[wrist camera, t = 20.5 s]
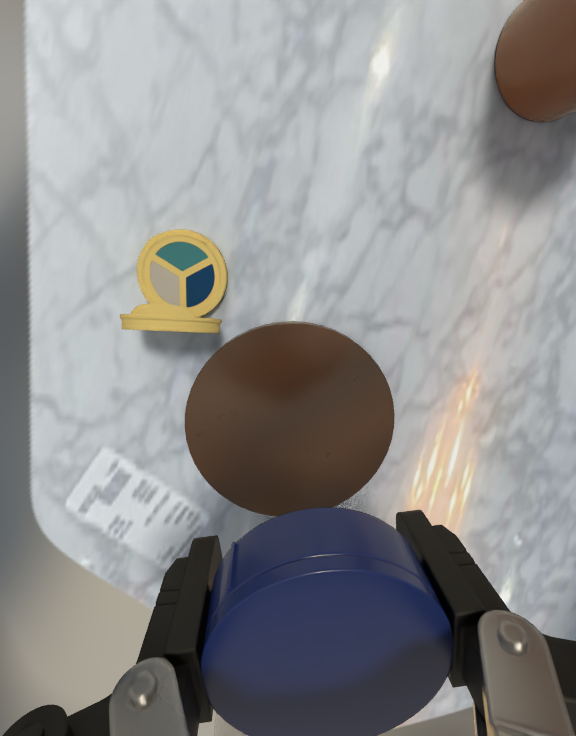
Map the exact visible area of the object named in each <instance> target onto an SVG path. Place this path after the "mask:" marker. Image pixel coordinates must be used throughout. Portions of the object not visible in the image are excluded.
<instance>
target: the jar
mask: <svg viewBox="0 0 576 736" xmlns="http://www.w3.org/2000/svg"><path fill="white" fill-rule="evenodd" d="M495 73H496V80H497V84H498V88H499V90H500V93H501V95H502V97H503V99H504V100H505V102H506V103H507V105H508V106H509V107H510V108H511V109H512V110H513V111H514V112H515V113H517V114H518V115H519V116H521V117H523V118H525V119H528V120H532V121H539V122H545V121H552V120H556V119H559V118H562V117H564V116H566V115H568V114H570V113H572V112H574V111H576V0H523V1H522V2H521V3H520V4H519V5H518V6H517V8H516V9H515V10H514V11H513V13H512V14H511V15H510V17H509V19H508V20H507V22H506V24H505V26H504V28H503V30H502V33H501V35H500V39H499V42H498V45H497V51H496V58H495Z"/></svg>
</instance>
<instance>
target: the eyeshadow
mask: <svg viewBox="0 0 576 736" xmlns="http://www.w3.org/2000/svg"><path fill="white" fill-rule="evenodd" d="M137 277H138V282H139V286H140V288H141V291H142V293H143V295H144V296H145V298H146V299H147V301H148V302H149V303H148V304H142V305H139V306H137V307H136V308H135V309H134V310H133V311H132V312H131V314H120V318H121V319H122V329H130V330H152V331H176V332H201V333H220V324H221V323H222V320H220V319H212V318H199V317H200V316H203V315H205V314H207V313H208V312H210V311H211V310H212V309H213V308H215V307H216V306H217V304H218V303H219V302H220V301H221V299H222V297H223V295H224V293H225V291H226V287H227V281H228V273H227V267H226V263H225V260H224V258H223V256H222V254H221V252H220V251H219V249H218V248H217V247H216V245H215V244H214V243H213V242H212V241H211V240H209V239H208V238H206V237H205V236H203V235H201V234H199V233H196V232H193V231H189V230H172V231H167V232H164V233H161V234H158V235H156V236H154V237H152V238H151V239H150V240H149V241H148V242H147V243H146V245H145V246H144V248H143V249H142V251H141V253H140V256H139V259H138V264H137Z"/></svg>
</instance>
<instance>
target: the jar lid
mask: <svg viewBox="0 0 576 736" xmlns="http://www.w3.org/2000/svg"><path fill="white" fill-rule="evenodd" d="M452 655H453V631H452V628H451V625H450V622H449V619H448V617H447V615H446V613H445V611H444V609H443V607H442V605H441V604H440V601H439V599H438V597H437V595H436V593H435V591H434V589H433V587H432V585H431V583H430V581H429V579H428V577H427V575H426V573H425V571H424V569H423V567H422V565H421V563H420V561H419V559H418V557H417V555H416V553H415V552H414V550H413V548H412V546H411V545H410V544H409V542H408V541H407V540H406V539H405V538H404V536H402V535H401V534H400V533H399V532H398V531H397V530H396V529H394V528H393V527H392V526H390V525H389V524H387V523H385V522H384V521H382V520H380V519H378V518H376V517H374V516H371V515H369V514H366V513H362V512H359V511H355V510H350V509H345V508H335V507H334V508H332V507H323V508H310V509H303V510H297V511H293V512H289V513H286V514H283V515H280V516H278V517H275V518H272V519H270V520H268V521H266V522H264V523H262V524H260V525H258V526H257V527H255V528H253V529H252V530H251V531H249V532H248V533H246V534H245V535H244V536H243V537H242V538H241V539H240V540H238V541H237V542H236V543H235V542H234V543H232V546H231V549H230V550H229V551H228V552H227V554H226V555H225V557H224V558H223V560H222V561H221V563H220V565H219V567H218V569H217V571H216V573H215V576H214V580H213V584H212V589H211V595H210V602H209V609H208V615H207V622H206V628H205V635H204V642H203V648H202V655H201V664H200V669H201V674H202V678H203V682H204V686H205V690H206V694H207V698H208V701H209V703H210V705H211V706H212V707H213V709H214V710H215V711H216V713H217V714H218V715H219V716H220V717H221V718H222V719H223V720H224V721H225V722H227V723H228V724H229V725H231V726H232V727H234V728H235V729H236V730H238V731H240V732H242V733H244V734H246V735H248V736H377V735H379V734H382V733H384V732H387V731H389V730H391V729H393V728H395V727H396V726H398V725H400V724H402V723H403V722H405V721H407V720H408V719H410V718H411V717H413V716H414V715H415V714H416V713H418V712H419V711H420V710H421V709H423V708H424V707H425V706H426V705H427V704H428V703H429V702H430V701H431V700H432V699H433V698H434V696H435V695H436V694H437V692H438V691H439V690H440V689H441V687H442V685H443V684H444V682H445V680H446V678H447V676H448V674H449V671H450V669H451V665H452Z"/></svg>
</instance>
